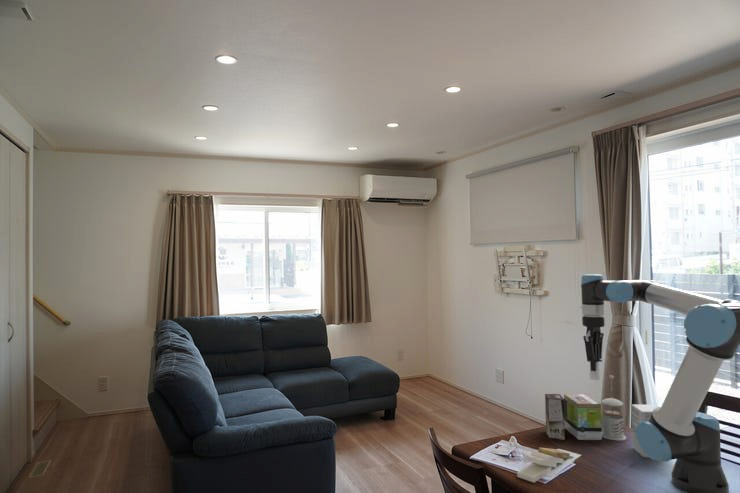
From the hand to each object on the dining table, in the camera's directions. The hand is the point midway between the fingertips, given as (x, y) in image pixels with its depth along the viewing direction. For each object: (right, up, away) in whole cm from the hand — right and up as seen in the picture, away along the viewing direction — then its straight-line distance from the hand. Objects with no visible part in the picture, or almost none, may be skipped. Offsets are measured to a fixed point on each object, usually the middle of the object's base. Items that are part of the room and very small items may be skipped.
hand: (594, 379), depth 179 cm
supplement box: (+22, -28, +2) cm, 36 cm away
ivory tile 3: (-24, -27, -12) cm, 38 cm away
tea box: (+5, -29, +22) cm, 37 cm away
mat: (-18, -28, -7) cm, 34 cm away
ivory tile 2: (-21, -27, -10) cm, 35 cm away
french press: (+17, -29, +19) cm, 39 cm away
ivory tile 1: (-17, -27, -6) cm, 33 cm away
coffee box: (-7, -29, +20) cm, 36 cm away
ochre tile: (-13, -27, -2) cm, 30 cm away
